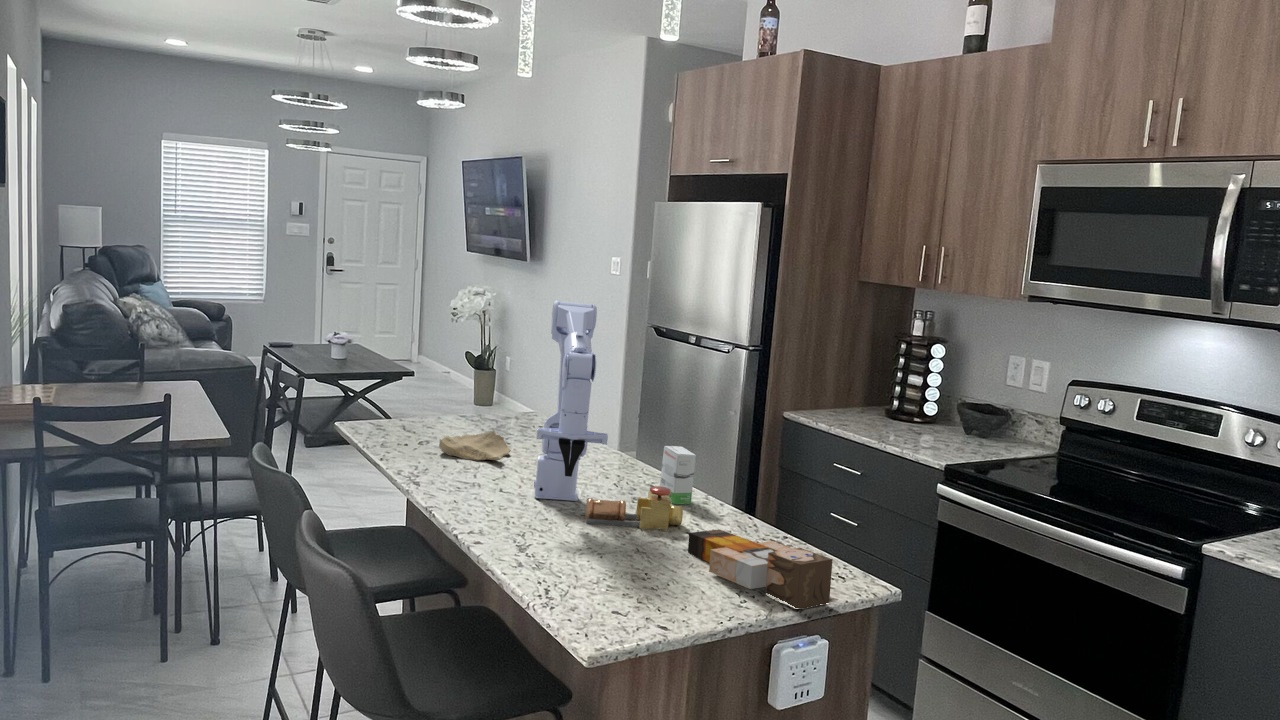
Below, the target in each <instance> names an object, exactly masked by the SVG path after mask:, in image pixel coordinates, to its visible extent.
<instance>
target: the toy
mask: <svg viewBox="0 0 1280 720" xmlns="http://www.w3.org/2000/svg"><path fill="white" fill-rule="evenodd" d="M687 542H688V545H687V546H688V547H687V554H690V555H691V554H692V556H693V555H694V557H695V556H696V557H695V558H697V557H698V558H697V559H699V560H703V561H705V562H708V563H709V564H708V565H709V567H708V572H709V573H712V574H714V575H717V576H719V577H721V578H723V579H726V580H728V581H730V582H732V583H734V584H735V583H736V584H737V585H738V586H739V585H740V586H742V587H744V588H747V589H748V590H749V589H750V590H753V589H758V588H759V589H761V588H765V592H766V593H768V594H770V595H772V596H774V597H776V598H779V599H780V600H782V601H785V602H787V603H788V604H790V605H792V606H794V607H795V608H805V609H808V608H807V607H810V608H812V607H811V606H815V607H817V606H816V605H820V604H825V605H827V604H826V603H829V604H830V597H831V585H832V573H833V559H832V558H831V557H827V556H824V555H822V554H818V553H817V552H813V551H810V550H807V549H804V548H802V547H797V548H791V547H790V546H787V545H784V544H781V543H778V542H775V541H772V540H770V541H764V542H755V541H752V540H749V539H746V538H744V537H741V536H740V535H739V536H738V535H736V534H733V533H730V532H727V531H725V530H722V529H721V528H720V529H719V528H717V529H711V530H704V531H703V530H702V531H694V532H689V533H688V541H687ZM820 606H821V605H820Z"/></svg>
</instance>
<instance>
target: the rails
mask: <svg viewBox="0 0 1280 720" xmlns="http://www.w3.org/2000/svg"><path fill="white" fill-rule="evenodd" d="M635 519H636V520H637V521H635ZM585 520H586V521H585V524H586V523H588V525H589V524H590V525H601V524H602V526H603V525H604V526H615V527H616V526H618V527H630V526H631V527H632V526H633V527H632V528H639V524H640V521H638V519H637V514H636V513H628V512H625V519H624V520H609V519H595V518H587V519H586V518H585Z"/></svg>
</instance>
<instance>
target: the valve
mask: <svg viewBox="0 0 1280 720" xmlns="http://www.w3.org/2000/svg"><path fill="white" fill-rule="evenodd" d="M670 492H671V490H670V489H669V488H666V487H660V485H658V486H656V485H655V486H650V487H649V491H648V492H647V497H639V496H638V497H637V501H636V509H635V514H637V519H636V520H639V522H640V523H639V527H638V528H639V529H640V528H642V529H641V530H650V529H655V528H660V529H659V530H668V529H669V525H670V526H682V523H683V513H684V510H683V506H682V505H673V504H672V503H671V501H670V499H669V497H668V495H670ZM671 504H672V505H671Z"/></svg>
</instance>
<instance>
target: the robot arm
mask: <svg viewBox="0 0 1280 720" xmlns="http://www.w3.org/2000/svg"><path fill="white" fill-rule="evenodd" d="M597 310H598V309H597V306H596V304H595V303H582V302H571V301H562V300H561V301H559V300H558V299H557V300H555V301H554V302H553V305H552V311H551V329H550V334H551V339H552V340H553V341H555V342H557V343H558V347H559V352H560V357H559V373H558V375H559V377H558V387H557V388H558V389H557V391H558V392H557V407H556V412H555V413H554V414H552V415H550V416H549V417H547V418H546V419H545V421H544V423H543V427H537V429H536V440H541V453H543V455H542V454H541V455H539V454H538V455H537V462H536V470H535V471H536V472H535V479H534V480H533V488H534V498H535V499H545V500H559V501H570V502H571V501H573V502H577V501H579V498H578V492H577V491H578V490H577V484H578V483H577V482H578V474H579V473H578V472H579V462H580V460H581V457H582V458H583V457H585V455H586V454H587V450H588V444H589V443H591V444H602V445H608V439H609V435H608V433H605V432H598V431H591V430H588V421H589V420H588V419H589V412H590V403H591V402H590V401H591V393H592V384H593V383H592V382H594V381H595V380H594V379H595V377H596V372H597V358H596V357H597V356H596V353H595V352H593V349H592V339H593V337H594V336H593V335H594V333H595V331H594V330H595V328H596V323H597V317H598V316H597V315H598V313H597V312H598V311H597Z"/></svg>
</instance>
